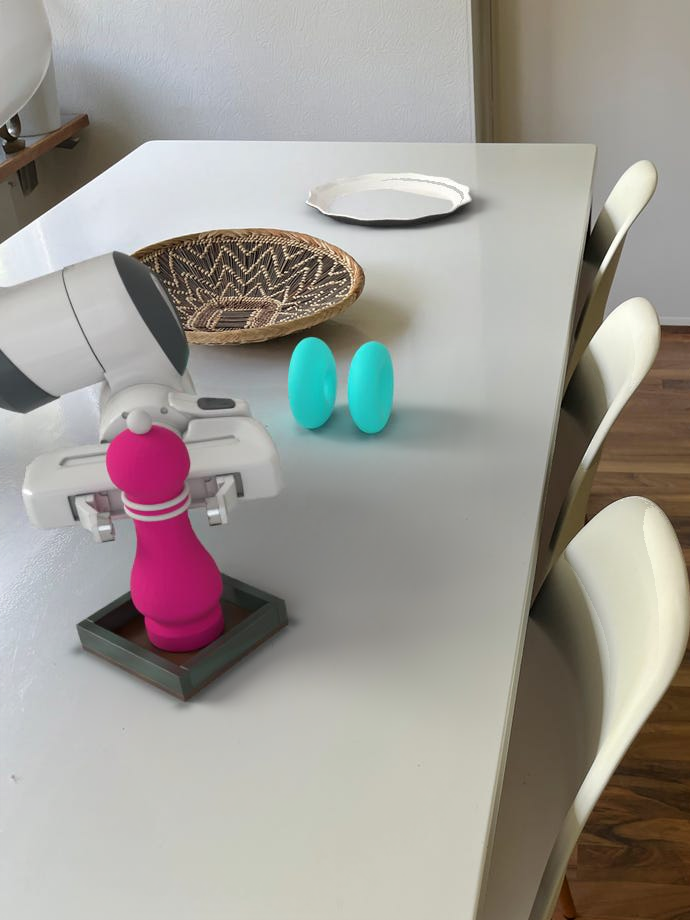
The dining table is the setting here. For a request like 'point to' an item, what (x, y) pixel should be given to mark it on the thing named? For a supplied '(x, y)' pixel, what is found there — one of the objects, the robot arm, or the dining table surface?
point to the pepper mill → (165, 538)
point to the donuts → (318, 385)
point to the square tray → (186, 673)
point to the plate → (345, 186)
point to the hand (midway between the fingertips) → (161, 526)
